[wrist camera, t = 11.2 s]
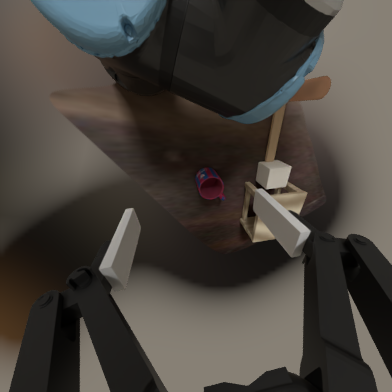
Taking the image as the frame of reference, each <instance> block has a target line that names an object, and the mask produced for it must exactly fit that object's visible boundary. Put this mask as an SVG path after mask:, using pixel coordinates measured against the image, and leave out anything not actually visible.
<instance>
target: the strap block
mask: <svg viewBox="0 0 392 392" xmlns="http://www.w3.org/2000/svg"><path fill="white" fill-rule="evenodd" d="M330 86H331V80H330V78H329V77H328V76H322V77H318V78H313V79H308V80H305V82H304V84H303V85H302V86H301V88H300V89H299V90H298V91H297V92H296V94H295V95H294V96H293V97H292V98H291V99H290V100H289V101H305V100H318V99H322V98H323V97H324V96H325V95H326V94H327V93H328V91H329V89H330ZM285 107H286V104H285V105H284V106H282V107H281V108H280V109H279V110H278V111H276V112H275V113H273V118H272V123H271V129H270V134H269V139H268V145H267V150H266V156H265V161H263V162H259V163H258V169H257V176H256V181H257V182H258V183H259V184H260V185H262V186H263V187H264V188H265V189H272V188H280V187H286V185H287V181H288V178H289V174H290V171H291V166H289V165H287V164H285V163H283V162H281V161H279V160H274V158H275V153H276V148H277V144H278V139H279V135H280V130H281V125H282V121H283V116H284V111H285Z"/></svg>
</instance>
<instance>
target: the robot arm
mask: <svg viewBox="0 0 392 392" xmlns="http://www.w3.org/2000/svg"><path fill="white" fill-rule="evenodd" d="M31 2H32V3H33V4H34V5H35V7H36V8H37V9H38V10H39V11H40V13H42V15H43V16H44V17H45V18H46V19H47V20H48V21H49V22H50V23H51V24H52V25H53V26H54V27H56V28H57V29H58V30H59V31H60V32H61V33H62V34H63V35H64V36H65V37H66V38H67V40H68V41H70V42H71V43H73V44H75V45H76V46H77V47H78V48H79V49H81V50H82V51H84V52H86V53H88V54H91V55H94V56H95V57H96V58H98V59H99V60H100V61H101V63H102V65H103V66H104V68H105V69H106V71H107V72H108V73H109V74H110V76H111V77H112V78H113V79H114V80H115V81H116V82H117V83H118V84H119V85H121V86H122V87H123V88H125V89H127V90H129V91H131V92H133V93H135V94H139V95H144V96H151V95H156V94H159V93H161V92H162V91H164V90H165V89H166V90H168V91H170V92H171V93H173V94H176V95H178V96H180V97H182V98H184V99H187V100H189V101H191V102H193V103H195V104H198V105H200V106H202V107H204V108H207V109H209V110H211V111H213V112H215V113H218V114H219V115H220V116H221V117H223V118H225V119H226V118H227V119H232V120H235V121H237V122H240V123H243V124H252V123H256V122H259V121H261V120H264V119H266V118H267V117H269V116H270V115H272V114H273V113H275V112H276V111H278V110H279V109H280V108H281V107H282V106H284V105H285V104H286V103H287V102H288V101H289V100H290V99H291V98H292V97H293V96H294V95H295V94H296V92H297V91H298V90H299V89H300V88H301V86H302V85H303V84H304V82H305V79H304V77H305V76H306V75H307V74H308V73H310V72H311V71H312V70H313V69H314V67H315V65H316V63H317V61H318V59H319V57H320V55H321V52H322V48H323V44H324V34H323V32H324V30H323V29H324V28H325V27H326V26H327V25H328V24H329V22H330V21H331V20H332V19H333V18H334V17H335V16H336V15H337V13H338V12H339V11H340V10H341V7H342V4H343V0H31ZM253 211H254V212H255V213H256V214H257V216H258V217H259V218H260V219H261V221H262V222H263V223H264V224H265V225H266V227H267V228H268V229H269V230H270V232H271V233H272V234H273V235H274V237H275V238H276V239H277V240H278V242H279V243H280V244H281V245H282V246H283V248H284V249H285V250H286V251H287V253H288V254H289V255H290V256H291V257H296V256H300V255H301V253H302V251H303V252H304V253H305V254H306V255H305V257H304V259H303V262H302V263H303V264H304V262H305V265H304V267H305V268H304V326H303V356H302V361H301V365H300V376H298V375H296V374H294V373H291V372H288V371H287V369H286V367H282V368H278V369H274V370H271V371H266V372H265V373H264V374H262V375H261V376H260V377H259V378H258V379H256V380H255V381H254V382H253V383H251V384H250V385H249V386H245V385H239V384H232V383H226V382H223V383H219V384H215V385H211V386H207V387H204V392H378V391H377V387H376V382H375V378H374V375H373V372H372V370H371V368H370V367H369V365H367V364H366V363H365V362H364V361H363V359H362V357H361V353H360V348H359V343H358V339H357V333H356V328H355V323H354V319H353V314H352V309H351V304H350V299H349V294H348V291H349V293H350V295H351V297H352V299H353V301H354V303H355V305H356V306H357V309H358V311H359V313H360V315H361V317H362V319H363V321H364V323H365V325H366V327H367V329H368V331H369V333H370V335H371V337H372V339H373V341H374V343H375V345H376V347H377V349H378V351H379V353H380V355H381V357H382V359H383V361H384V363H385V365H386V367H387V369H388V371H389V373H390V375H391V377H392V265H391V264H390V263H389V261H388V260H387V259H386V258H385V257H384V256H383V254H382V253H381V252H380V251H379V250H378V248H377V247H376V246H375V245H374V244H373V242H371V241H370V240H369V239H367V238H366V237H363V236H360V235H357V234H350V235H348V237H347V239H342V238H335V237H334V236H332V235H330V234H328V233H325V232H319V231H318V230H317V229H315V228H314V227H313V226H312V225H310V224H309V223H308V222H307V221H305V220H304V219H303V218H301V216H300V215H298V214H297V213H296V212H294V211H292V210H288V211H287V210H286V209H285V208H284V207H283V206H282V205H281V204H279V203H278V202H277V201H276V200H275V199H274V198H273V197H271V196H270V195H269V194H268V193H267V192H266V191H265V190H263V189H256V190H255V197H254V204H253ZM140 229H141V227H140V224H139V221H138V219H137V216H136V213H135V211H134V208H130V209H126V210H125V212H124V214H123V217H122V219H121V221H120V223H119V225H118V228H117V230H116V232H115V235H114V237H113V239H112V240H110V241H106V242H105V243H104V244H103V245H102V246H101V247H100V250H99V251H98V254H97V255H96V258H95V259H94V261H93V263H92V265H91V267H89V266H83V267H80V268H78V269H76V270H75V271H74V272H72V273H71V275H70V276H69V277H68V279H67V281H66V284H67V285H68V286H69V287H70V289H67V290H65V291H63V292H61V293H59V292H58V291H57V290H51V291H49V292H46V293H45V294H43V295H42V296H40V297H39V298H38V299H37V300H36V301H35V303H34V304H33V305H32V307H31V310H30V313H29V317H28V321H27V325H26V329H25V333H24V336H23V340H22V344H21V348H20V352H19V355H18V360H17V363H16V367H15V371H14V375H13V378H12V382H11V387H10V390H9V392H80V318H81V317H83V319H84V321H85V324H86V326H87V329H88V332H89V335H90V338H91V340H92V343H93V345H94V348H95V351H96V354H97V356H98V359H99V362H100V365H101V367H102V370H103V373H104V375H105V378H106V381H107V384H108V386H109V389H110V392H168V391H167V390H166V388H165V386H164V385H163V383H162V381H161V380H160V378H159V376H158V374H157V373H156V371H155V369H154V367H153V366H152V364H151V362H150V361H149V359H148V357H147V356H146V354H145V352H144V350H143V349H142V347H141V345H140V343H139V342H138V340H137V338H136V337H135V335H134V333H133V331H132V330H131V328H130V326H129V325H128V323H127V321H126V320H125V318H124V316H123V314H122V313H121V311H120V309H119V307H118V306H117V304H116V303H115V301H114V299H113V297H112V296H111V294H110V291H111V288H113V290H114V291H120V290H125V289H126V285H127V281H128V277H129V273H130V269H131V265H132V261H133V257H134V254H135V249H136V246H137V242H138V238H139V234H140Z"/></svg>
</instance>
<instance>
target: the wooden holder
mask: <svg viewBox="0 0 392 392" xmlns="http://www.w3.org/2000/svg"><path fill="white" fill-rule="evenodd" d="M245 188H246V192H245V199H244V206H243V213H242V218H240V222H241V224H242V225H243V227H244V229H245V230H246V232H247V234H248V235H249V237H250V238H251V240H252V242H258V241H265V240H271V239H276V238H275V237H274V235H273V234H272V233H271V232H270V230H269V229H268V228H267V227H266V225H265V224H264V223H263V222H262V221H261V219H260V218H259V217H258V216H257V214H256V216H255V217H248V218H247V213H248V207H249V201H250V195H251V194H252V196H253V197H255V190H256V189H257V188H256V187H255V186H254V185H253V184H252V183H251V182H245ZM283 188H284V189H285V190H287V191H288V192H290V193H283V194H280V193H281V189H282V187H280V188H275V191H274V195H270V196H271V197H273V198H274V199H275V200H276V201H277V202H278V203H279V204H281V205H282V206H283V207H284V208H285V209H286V210H287V211H288V210H292V211H294V212H296V213H297V214H298V215H299V213H300V211H301V208H302V206H303V203H304V200H305V198H306V195H307V193H306V192H305V191H302V190H300V189H299V188H297V187H296V186H294V185H292V184H291V183H289V182H288V181H287V185H286V187H283Z"/></svg>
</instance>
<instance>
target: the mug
mask: <svg viewBox="0 0 392 392" xmlns="http://www.w3.org/2000/svg"><path fill="white" fill-rule="evenodd" d="M195 181H196V185H197V188H198V191H199V193H200V195H201V196H202V197H203V198H205V199H208V200H211V199H215V198H217V197H219V198H220V199H221V200H223V201H224V200H225V199H226V197H225V195H224V194H223V193H222V192H223V190H224V183H223V181H222V180H221V178H220V177H219V175H218V174H217V173H216V171H215V170H214V169H212V168H209V167H206V168H202V169H201V170H199V171H198V172H197V174H196V176H195Z"/></svg>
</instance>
